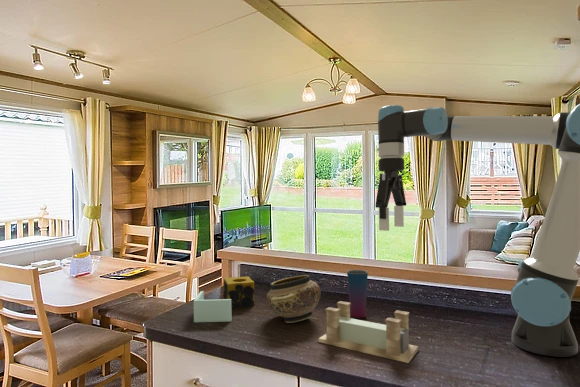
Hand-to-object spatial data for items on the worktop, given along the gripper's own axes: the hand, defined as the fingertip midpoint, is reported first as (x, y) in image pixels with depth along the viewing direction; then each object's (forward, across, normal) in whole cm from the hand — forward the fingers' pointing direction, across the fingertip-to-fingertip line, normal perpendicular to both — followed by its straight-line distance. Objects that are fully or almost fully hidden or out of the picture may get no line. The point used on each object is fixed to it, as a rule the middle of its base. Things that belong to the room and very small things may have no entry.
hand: (391, 228), depth 116 cm
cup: (+31, -6, -14) cm, 34 cm away
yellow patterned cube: (+31, +6, -56) cm, 64 cm away
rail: (+30, +16, -2) cm, 34 cm away
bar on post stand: (+31, +16, -2) cm, 34 cm away
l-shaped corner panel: (+31, +20, -55) cm, 66 cm away
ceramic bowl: (+31, +9, -30) cm, 44 cm away
